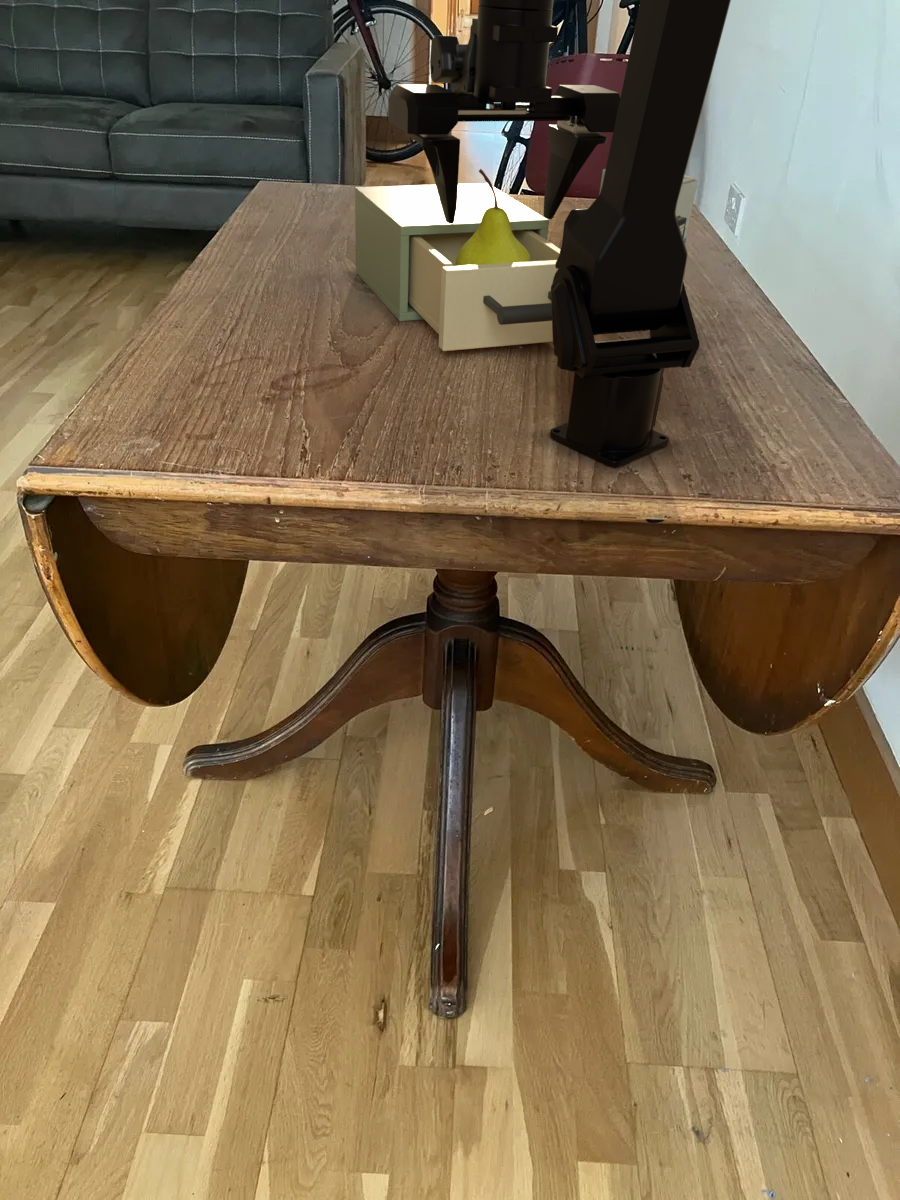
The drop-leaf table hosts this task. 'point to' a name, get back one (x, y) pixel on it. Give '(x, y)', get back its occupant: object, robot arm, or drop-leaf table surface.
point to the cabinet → (419, 231)
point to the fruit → (492, 240)
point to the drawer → (482, 292)
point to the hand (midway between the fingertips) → (499, 220)
